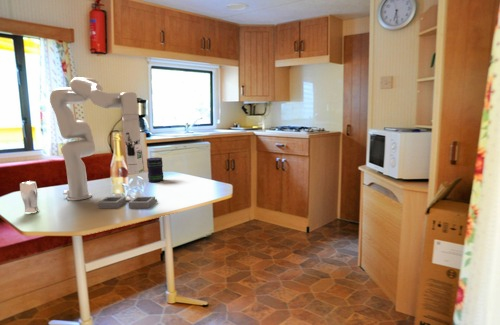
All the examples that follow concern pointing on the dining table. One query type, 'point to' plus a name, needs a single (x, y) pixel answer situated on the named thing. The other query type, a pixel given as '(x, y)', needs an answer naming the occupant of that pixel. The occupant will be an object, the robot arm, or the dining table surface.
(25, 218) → the dining table surface
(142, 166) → the syrup box
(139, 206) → the panel
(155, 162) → the storage jar
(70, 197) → the robot arm
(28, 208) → the white vase
